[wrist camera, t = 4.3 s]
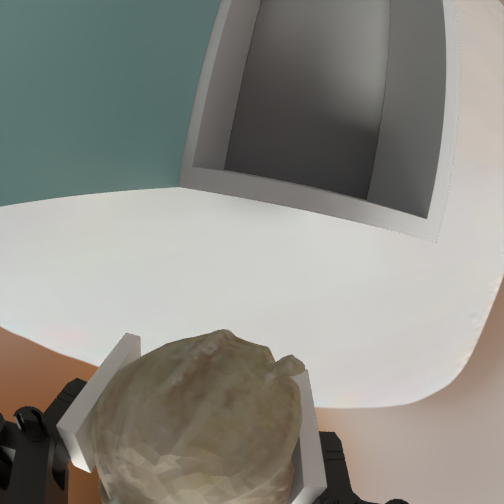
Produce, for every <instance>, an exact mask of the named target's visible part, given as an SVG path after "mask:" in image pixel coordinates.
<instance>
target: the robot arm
mask: <svg viewBox="0 0 504 504" xmlns="http://www.w3.org/2000/svg"><path fill="white" fill-rule="evenodd" d="M140 357H141V348H140V336H136V335H133V334H129V333H126V334H125V335H124V336H123V337H122V339H121V340H120V341H119V343H118V344H117V345H116V346H115V348H114V349H113V350H112V351H111V353H110V354H109V355H108V357H107V358H106V359H105V360H104V362H103V363H102V364H101V366H100V367H99V368H98V370H97V371H96V372H95V373H94V375H93V376H92V377H91V379H90V380H89V381H88V382H86V381H83V380H80V379H78V378H76V379H74V380H73V381H71V382H69V383H67V385H66V386H65V387H64V388H63V390H62V392H60V394H59V395H58V396H57V398H55V400H54V401H53V402H52V403H51V405H50V406H49V407H48V408H47V410H46V411H45V412H44V413H42V412H41V411H40V410H39V409H37V408H35V407H29V406H25V407H22V408H20V409H18V410H17V411H16V412H15V414H14V415H13V417H14V419H15V421H16V423H17V424H16V423H12V422H9V421H5V420H4V418H3V416H2V414H1V413H0V504H68V480H69V469H68V466H67V465H68V463H69V461H70V459H71V460H72V462H73V464H74V466H76V467H78V468H81V469H83V470H85V471H87V472H89V473H91V472H92V470H93V468H94V466H95V461H94V453H93V448H92V442H91V428H92V424H93V418H94V412H95V409H96V406H97V403H98V400H99V398H100V396H101V395H102V393H103V391H104V389H105V387H106V386H107V384H108V383H109V381H110V380H111V379H112V378H113V377H114V376H115V375H116V374H117V373H118V372H119V371H121V370H122V369H123V368H125V367H126V366H127V365H129V364H130V363H132V362H134V361H135V360H137V359H138V358H140ZM290 377H291V378H292V379H293V380H294V381H295V382H296V383H297V385H298V386H299V389H300V395H301V407H302V424H301V429H300V433H299V437H298V441H297V443H296V446H295V448H294V450H293V453H292V459H291V462H292V464H293V466H294V468H295V474H294V479H293V485H292V490H291V493H290V496H289V498H288V500H287V502H286V503H285V504H377V503H371V502H366V501H363V500H361V499H360V498H359V497H358V496H357V495H356V494H355V493H353V491H352V488H351V484H350V480H349V475H348V470H347V466H346V461H345V457H344V453H343V448H342V444H341V440H340V439H339V438H338V436H337V435H336V434H335V432H320V431H318V425H317V420H316V414H315V408H314V402H313V397H312V391H311V386H310V380H309V375H308V370H306V369H305V371H304V372H303V373H301V374H298V375H296V376H290ZM385 504H409V503H408V502H406V501H403V500H402V499H393V500H390V501H388V502H387V503H385Z"/></svg>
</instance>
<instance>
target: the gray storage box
mask: <svg viewBox="0 0 504 504" xmlns="http://www.w3.org/2000/svg"><path fill="white" fill-rule="evenodd" d="M260 3H261V0H220V3H219V7H218V10H217V13H216V16H215V20H214V23H213V26H212V30H211V33H210V37H209V41H208V44H207V48H206V52H205V55H204V59H203V63H202V67H201V71H200V75H199V79H198V84H197V88H196V92H195V97H194V101H193V106H192V110H191V115H190V120H189V125H188V130H187V135H186V140H185V146H184V151H183V157H182V162H181V168H180V174H179V181H178V187H182V188H189V189H195V190H201V191H207V192H213V193H219V194H224V195H230V196H235V197H241V198H246V199H252V200H257V201H262V202H267V203H272V204H277V205H282V206H287V207H292V208H297V209H301V210H306V211H311V212H315V213H320V214H324V215H329V216H333V217H338V218H342V219H346V220H351V221H355V222H359V223H363V224H367V225H371V226H375V227H379V228H383V229H387V230H391V231H395V232H399V233H403V234H407V235H410V236H414V237H418V238H421V239H425V240H429V241H432V242H436V243H437V240H438V236H439V232H440V228H441V224H442V220H443V216H444V212H445V207H446V202H447V198H448V193H449V187H450V182H451V176H452V170H453V164H454V157H455V149H456V141H457V131H458V120H459V104H460V46H459V32H458V21H457V12H456V5H455V0H391V12H390V38H389V53H388V66H387V77H386V86H385V95H384V103H383V111H382V118H381V125H380V131H379V138H378V144H377V150H376V155H375V161H374V166H373V171H372V176H371V181H370V186H369V191H368V196H367V200H364V199H360V198H357V197H353V196H349V195H345V194H341V193H336V192H332V191H328V190H324V189H320V188H315V187H311V186H306V185H302V184H297V183H292V182H288V181H283V180H278V179H273V178H268V177H262V176H257V175H252V174H246V173H241V172H235V171H229V170H224V167H225V162H226V157H227V151H228V146H229V141H230V136H231V131H232V126H233V121H234V116H235V111H236V106H237V101H238V96H239V92H240V87H241V83H242V78H243V73H244V69H245V65H246V60H247V56H248V51H249V47H250V43H251V39H252V35H253V31H254V26H255V22H256V18H257V14H258V10H259V7H260Z"/></svg>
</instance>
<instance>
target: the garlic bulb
mask: <svg viewBox="0 0 504 504" xmlns="http://www.w3.org/2000/svg"><path fill="white" fill-rule="evenodd" d="M304 371H305V365H304V364H303V362H301V361H300V360H298V359H297V358H295V357H294V356H293V355H288V356H286V357H283V358H281V359H280V360H279V361H277V362H275V360H274V358H273V356H272V354H271V351H270V349H269V348H268V347H267V346H262V345H258V344H254V343H251V342H248V341H245V340H243V339H240V338H238V337H236V336H235V335H234V334H233V333H232V332H231V331H229V330H225V329H222V330H217V331H214V332H212V333H209V334H204V335H200V336H197V337H192V338H185V339H182V340H178V341H174V342H171V343H167V344H165V345H163V346H161V347H159V348H157V349H155V350H153V351H151V352H149V353H147V354H145V355H143V356H142V357H140V358H138V359H137V360H135V361H134V362H132V363H130V364H129V365H127V366H126V367H125V368H123V369H122V370H121V371H119V372H118V373H117V374H116V375H115V376H114V377H113V378H112V379H111V380H110V381H109V383H108V384H107V386H106V387H105V389H104V391H103V393H102V395H101V396H100V398H99V400H98V403H97V406H96V409H95V412H94V418H93V424H92V428H91V442H92V448H93V453H94V461H95V464H96V467H97V471H98V474H99V494H100V497H101V500H102V502H103V504H285V503H286V502H287V500H288V498H289V496H290V493H291V490H292V485H293V479H294V474H295V468H294V466H293V464H292V462H291V459H292V453H293V450H294V448H295V446H296V443H297V441H298V437H299V433H300V429H301V424H302V407H301V395H300V389H299V386H298V385H297V383H296V382H295V381H294V380H293V379H292V378H291V377H290V376H296V375H298V374H301V373H303V372H304Z"/></svg>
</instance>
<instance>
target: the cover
mask: <svg viewBox="0 0 504 504" xmlns="http://www.w3.org/2000/svg"><path fill="white" fill-rule="evenodd" d="M219 3H220V0H0V206H6V205H12V204H18V203H24V202H31V201H38V200H45V199H52V198H60V197H68V196H76V195H85V194H94V193H104V192H115V191H127V190H139V189H154V188H170V187H178V181H179V174H180V168H181V162H182V157H183V151H184V146H185V140H186V135H187V130H188V125H189V120H190V115H191V110H192V106H193V101H194V97H195V92H196V88H197V84H198V79H199V75H200V71H201V67H202V63H203V59H204V55H205V52H206V48H207V44H208V41H209V37H210V33H211V30H212V26H213V23H214V20H215V16H216V13H217V10H218V7H219Z"/></svg>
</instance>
